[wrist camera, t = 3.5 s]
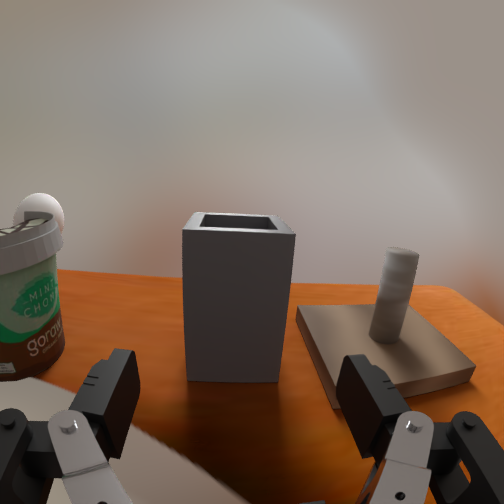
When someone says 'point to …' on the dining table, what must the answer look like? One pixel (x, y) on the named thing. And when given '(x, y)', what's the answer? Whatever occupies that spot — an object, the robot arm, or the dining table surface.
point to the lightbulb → (39, 208)
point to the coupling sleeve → (235, 296)
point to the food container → (29, 297)
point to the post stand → (384, 336)
